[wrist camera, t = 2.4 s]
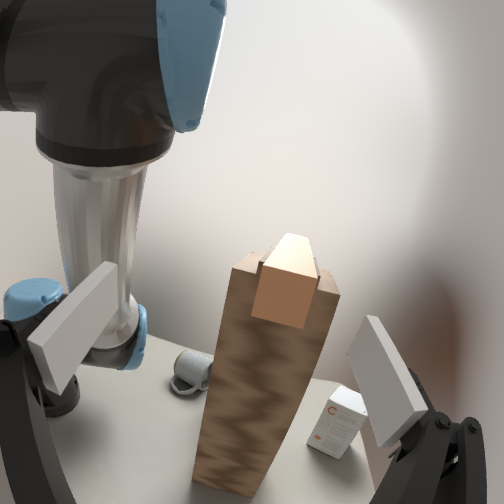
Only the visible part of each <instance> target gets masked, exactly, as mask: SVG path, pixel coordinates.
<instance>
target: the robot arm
mask: <svg viewBox="0 0 504 504" xmlns="http://www.w3.org/2000/svg"><path fill="white" fill-rule="evenodd" d="M226 11H227V1H226V0H0V111H24V112H35V114H36V147H37V150H38V151H39V153H40V154H41V155H42V156H43V157H44V158H46V159H47V160H48V161H50V162H51V163H53V177H54V178H53V179H54V196H55V210H56V219H57V228H58V236H59V243H60V249H61V255H62V261H63V266H64V271H65V276H66V281H67V286H68V290H69V295H67V294H63V289H62V287H61V284H60V283H59V282H57V281H55V280H53V279H48V278H33V279H27V280H24V281H20V282H18V283H16V284H14V285H12V286H11V287H10V288H9V289H8V290H7V291H6V293H5V295H4V299H3V301H4V319H5V320H4V319H2V320H0V447H1V452H2V456H3V461H4V466H5V470H6V474H7V477H8V481H9V485H10V488H11V491H12V494H13V497H14V500H15V503H16V504H76V502H75V499H74V497H73V495H72V493H71V491H70V488H69V486H68V484H67V481H66V479H65V476H64V474H63V471H62V468H61V466H60V463H59V460H58V457H57V454H56V451H55V448H54V445H53V442H52V438H51V435H50V431H49V427H48V424H47V420H46V417H56V416H60V415H63V414H66V413H68V412H69V411H71V410H72V409H73V408H74V407H75V406H76V405H77V403H78V401H79V398H80V389H79V384H78V380H77V378H76V376H75V374H74V373H75V371H76V370H77V368H78V367H79V365H80V364H84V365H90V366H97V367H105V368H113V369H117V370H134V369H137V368H138V367H139V366H140V365H141V363H142V360H143V356H144V347H145V344H146V334H147V314H146V310H145V308H144V307H143V306H142V305H139V304H137V303H136V301H135V299H134V298H133V296H132V295H131V294H130V289H131V276H132V265H133V255H134V246H135V238H136V230H137V223H138V217H139V210H140V204H141V198H142V192H143V187H144V182H145V177H146V172H147V166H148V164H150V163H152V162H154V161H156V160H158V159H160V158H161V157H163V156H164V155H165V154H166V153H167V152H168V151H169V149H170V147H171V144H172V141H173V137H174V134H175V131H177V132H179V133H184V132H188V131H189V132H190V131H194V130H195V129H197V127H198V126H199V124H200V119H201V116H202V114H203V111H204V108H205V105H206V101H207V97H208V93H209V90H210V86H211V81H212V78H213V73H214V69H215V65H216V61H217V56H218V52H219V47H220V43H221V38H222V34H223V29H224V24H225V18H226ZM347 356H348V359H349V361H350V364H351V367H352V370H353V373H354V375H355V378H356V381H357V384H358V387H359V390H360V393H361V396H362V399H363V401H364V404H365V407H366V411H367V414H368V417H369V420H370V423H371V426H372V429H373V432H374V435H375V439H376V442H377V445H378V448H385V447H391V446H393V445H394V444H395V443H396V442H397V441H398V440H399V439H400V441H401V445H400V446H399V447H398V448H397V449H396V450H395V451H394V452H393V453H392V454H390V455H389V457H388V458H391V457H392V456H393V455H395V456H394V458H393V460H392V462H391V464H390V466H389V468H388V470H387V472H386V474H385V476H384V478H383V480H382V482H381V484H380V486H379V488H378V489H377V491H376V493H375V495H374V496H373V498H372V500H371V501H370V503H369V504H487V481H486V480H487V479H486V462H485V451H484V442H483V435H482V429H481V425H480V424H479V422H478V421H477V420H476V419H475V418H472V417H467V418H465V419H464V420H463V421H462V422H461V423H460V424H458V423H452V422H451V420H450V419H449V418H448V416H447V415H445V414H444V413H441V412H436V411H435V409H434V407H433V406H432V404H431V402H430V400H429V398H428V396H427V394H426V392H425V391H424V388H423V386H422V385H421V383H420V381H419V379H418V377H417V375H416V374H415V373H414V372H413V371H412V370H411V369H409V368H407V367H406V365H405V364H404V362H403V360H402V358H401V356H400V355H399V353H398V351H397V349H396V347H395V346H394V344H393V342H392V340H391V339H390V337H389V335H388V334H387V332H386V330H385V329H384V327H383V325H382V323H381V322H380V320H379V318H378V317H376V316H369V315H366V316H365V318H364V320H363V322H362V324H361V326H360V328H359V330H358V332H357V334H356V336H355V338H354V340H353V342H352V344H351V346H350V348H349V349H348V351H347ZM456 456H458V461H457V462H456V463H454V458H455V457H456Z"/></svg>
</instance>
